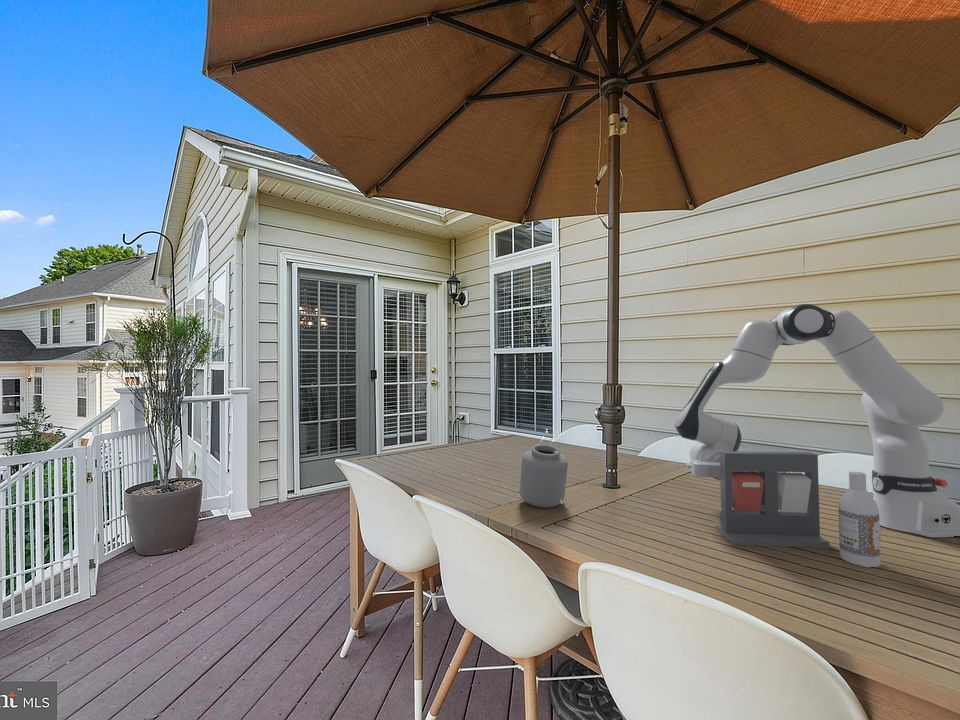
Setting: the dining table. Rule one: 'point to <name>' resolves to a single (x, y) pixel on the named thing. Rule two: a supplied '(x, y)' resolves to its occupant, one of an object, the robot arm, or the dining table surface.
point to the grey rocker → (793, 492)
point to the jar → (543, 476)
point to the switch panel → (770, 502)
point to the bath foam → (859, 524)
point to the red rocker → (746, 491)
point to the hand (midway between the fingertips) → (742, 475)
